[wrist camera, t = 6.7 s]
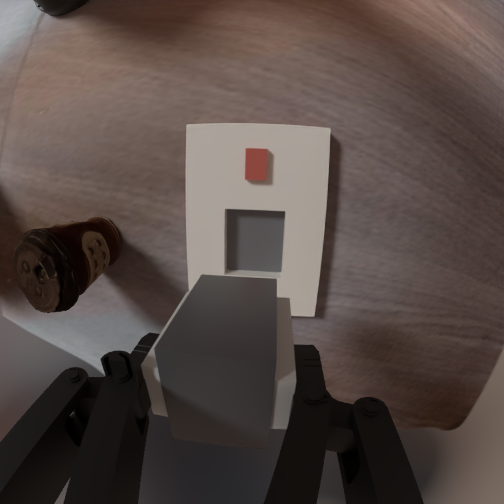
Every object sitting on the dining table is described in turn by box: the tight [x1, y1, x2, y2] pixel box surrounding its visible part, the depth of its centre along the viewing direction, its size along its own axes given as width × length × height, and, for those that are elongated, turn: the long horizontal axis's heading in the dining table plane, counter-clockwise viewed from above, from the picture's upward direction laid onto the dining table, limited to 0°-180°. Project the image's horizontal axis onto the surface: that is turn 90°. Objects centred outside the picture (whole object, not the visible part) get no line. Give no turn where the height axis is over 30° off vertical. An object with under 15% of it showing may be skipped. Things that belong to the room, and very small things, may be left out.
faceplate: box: [186, 123, 330, 317], centre depth 30 cm, size 20×14×3 cm
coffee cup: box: [13, 216, 121, 313], centre depth 27 cm, size 9×8×13 cm
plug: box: [154, 274, 277, 449], centre depth 13 cm, size 5×4×7 cm
